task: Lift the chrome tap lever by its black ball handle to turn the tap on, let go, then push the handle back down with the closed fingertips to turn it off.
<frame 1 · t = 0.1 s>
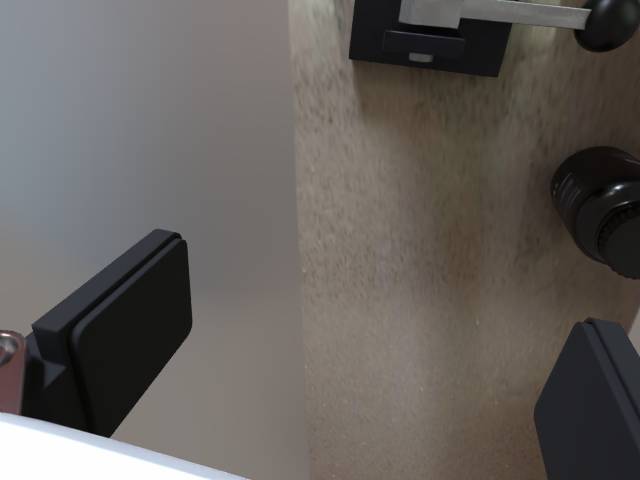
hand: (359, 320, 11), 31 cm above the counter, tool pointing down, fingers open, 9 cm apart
black lever stand: (433, 5, 34), on the counter
supplement bottle: (591, 182, 37), on the counter
tap lever: (523, 13, 25), point 9 cm above the counter, hinge at -20.0°
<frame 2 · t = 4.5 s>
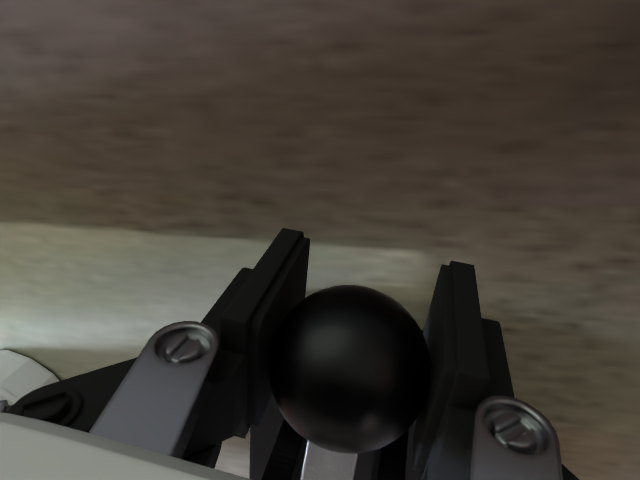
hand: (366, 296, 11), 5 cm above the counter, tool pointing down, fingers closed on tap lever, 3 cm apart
black lever stand: (349, 416, 20), on the counter
white cup: (31, 389, 26), on the counter
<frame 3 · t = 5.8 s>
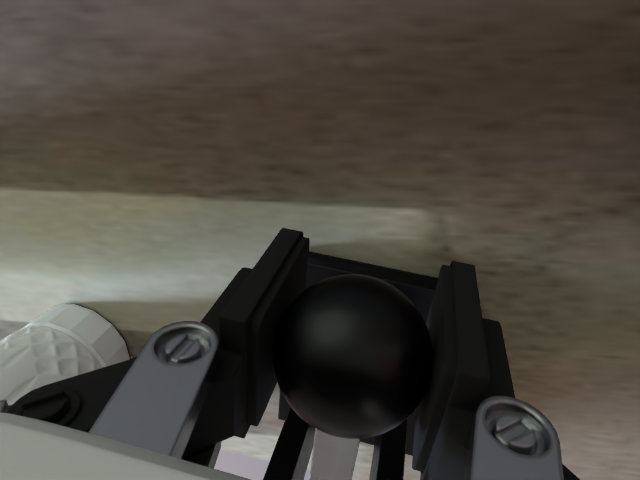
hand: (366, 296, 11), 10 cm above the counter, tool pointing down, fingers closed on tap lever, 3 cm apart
black lever stand: (363, 353, 25), on the counter
white cup: (89, 340, 31), on the counter
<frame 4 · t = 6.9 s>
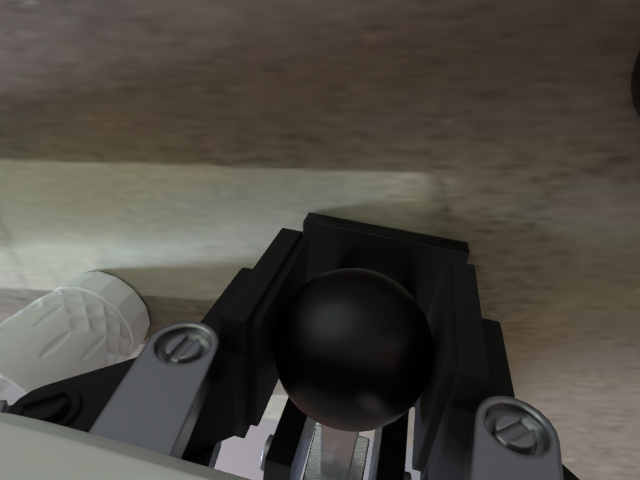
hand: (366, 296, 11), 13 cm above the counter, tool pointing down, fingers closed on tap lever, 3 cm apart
black lever stand: (369, 311, 27), on the counter
white cup: (112, 306, 33), on the counter
tap lever: (341, 426, 13), point 13 cm above the counter, hinge at 20.7°, touching gripper
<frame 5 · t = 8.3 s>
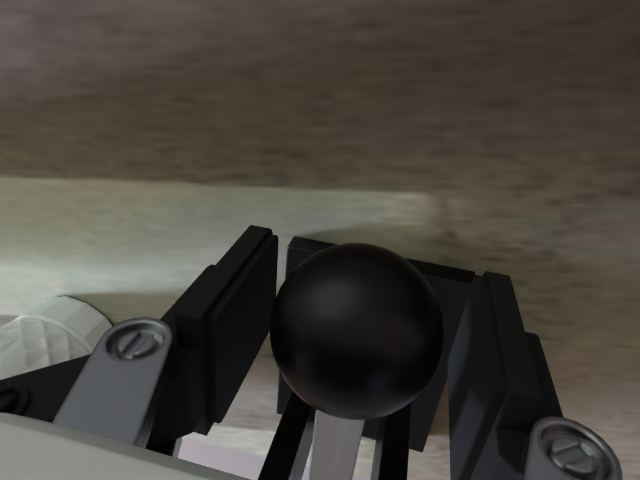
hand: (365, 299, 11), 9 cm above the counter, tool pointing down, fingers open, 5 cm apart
black lever stand: (364, 344, 24), on the counter
white cup: (83, 333, 30), on the counter
tap lever: (332, 470, 12), point 11 cm above the counter, hinge at 4.9°
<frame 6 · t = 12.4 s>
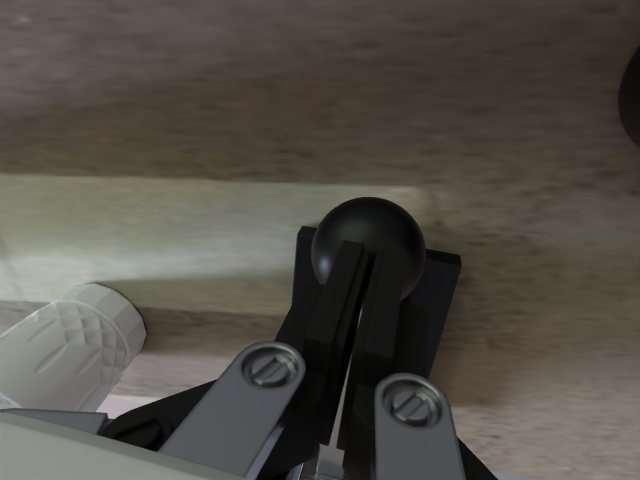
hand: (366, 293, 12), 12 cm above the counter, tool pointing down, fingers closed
black lever stand: (364, 322, 27), on the counter
white cup: (108, 318, 33), on the counter
tap lever: (345, 385, 15), point 11 cm above the counter, hinge at -2.7°, touching gripper
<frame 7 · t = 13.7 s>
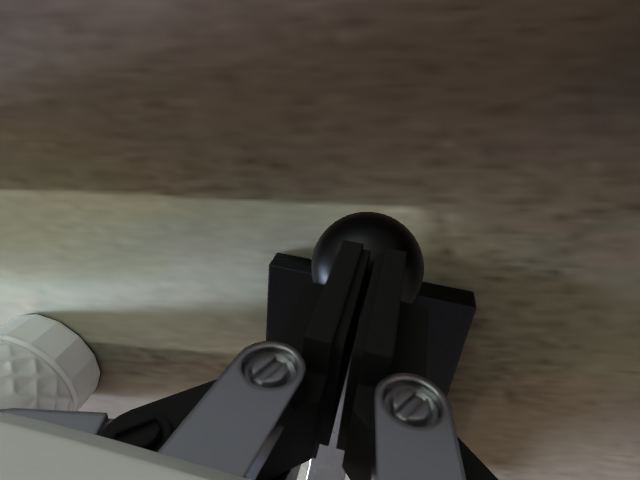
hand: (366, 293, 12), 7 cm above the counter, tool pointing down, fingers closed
black lever stand: (354, 367, 22), on the counter
white cup: (56, 353, 28), on the counter
tap lever: (333, 441, 13), point 8 cm above the counter, hinge at -30.6°, touching gripper
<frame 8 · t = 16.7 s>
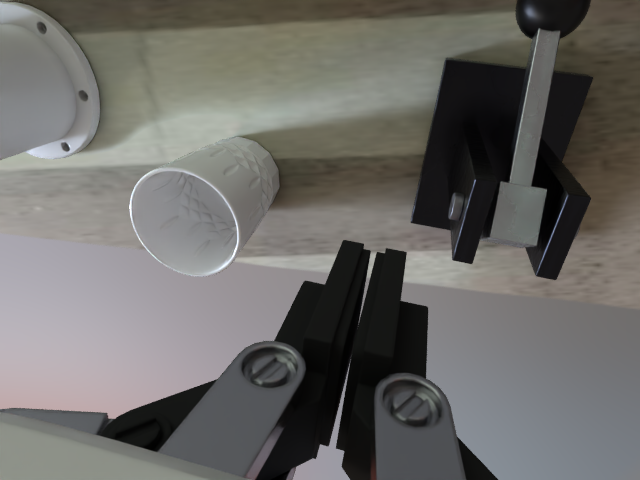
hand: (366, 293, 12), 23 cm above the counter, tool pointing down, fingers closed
black lever stand: (489, 154, 31), on the counter
white cup: (243, 174, 37), on the counter
tap lever: (532, 107, 22), point 8 cm above the counter, hinge at -30.5°
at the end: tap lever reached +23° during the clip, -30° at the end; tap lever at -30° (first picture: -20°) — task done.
